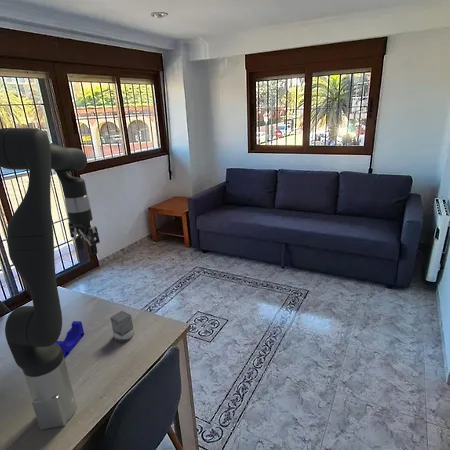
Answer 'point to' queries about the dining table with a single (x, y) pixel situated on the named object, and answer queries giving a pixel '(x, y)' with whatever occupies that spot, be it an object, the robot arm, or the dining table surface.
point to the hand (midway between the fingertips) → (87, 251)
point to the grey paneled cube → (121, 323)
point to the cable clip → (71, 338)
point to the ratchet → (125, 337)
